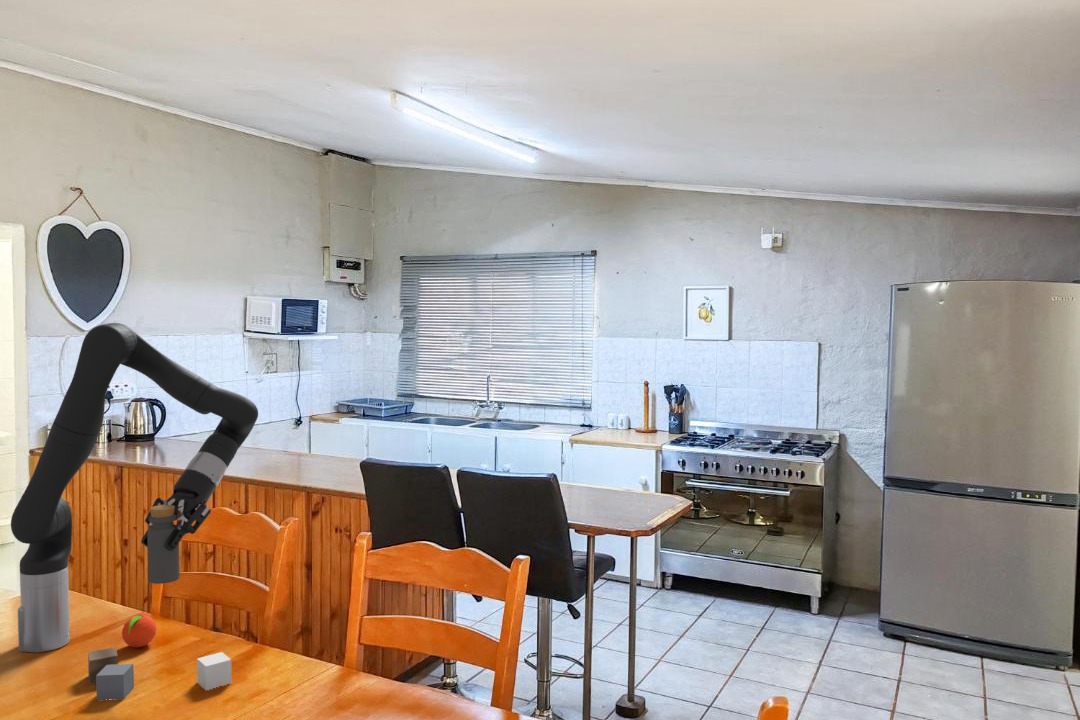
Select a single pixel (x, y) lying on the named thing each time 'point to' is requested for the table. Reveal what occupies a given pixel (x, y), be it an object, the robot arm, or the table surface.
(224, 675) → the offwhite block
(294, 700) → the table surface
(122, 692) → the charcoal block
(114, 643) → the table surface
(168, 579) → the bottle
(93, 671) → the walnut block
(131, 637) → the peach
